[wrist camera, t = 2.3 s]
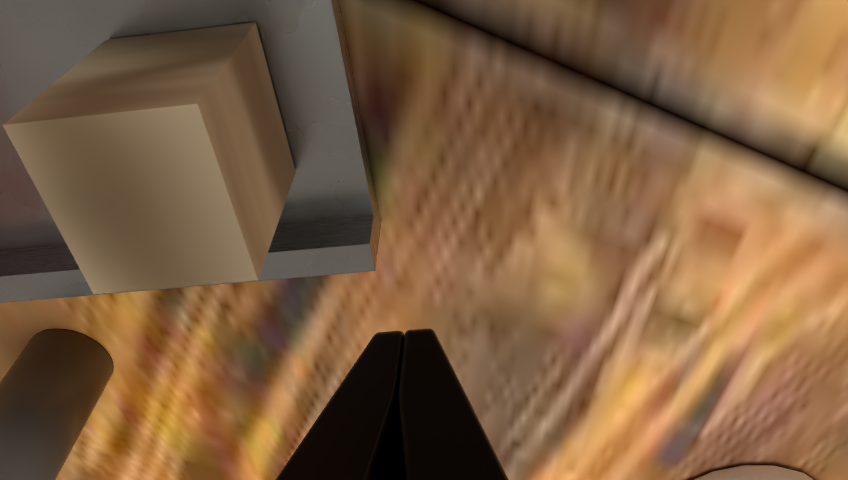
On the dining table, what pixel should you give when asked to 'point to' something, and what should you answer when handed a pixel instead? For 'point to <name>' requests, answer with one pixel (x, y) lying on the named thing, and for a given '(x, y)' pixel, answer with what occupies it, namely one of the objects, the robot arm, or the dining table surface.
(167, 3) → the grey open tray
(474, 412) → the robot arm
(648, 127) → the dining table surface
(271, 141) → the block
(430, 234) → the dining table surface
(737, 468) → the bottle
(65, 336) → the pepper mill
